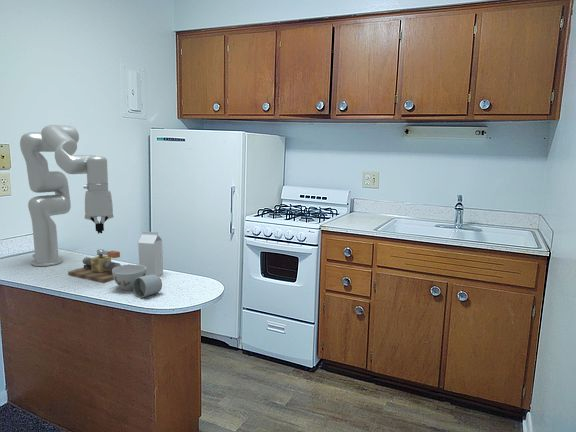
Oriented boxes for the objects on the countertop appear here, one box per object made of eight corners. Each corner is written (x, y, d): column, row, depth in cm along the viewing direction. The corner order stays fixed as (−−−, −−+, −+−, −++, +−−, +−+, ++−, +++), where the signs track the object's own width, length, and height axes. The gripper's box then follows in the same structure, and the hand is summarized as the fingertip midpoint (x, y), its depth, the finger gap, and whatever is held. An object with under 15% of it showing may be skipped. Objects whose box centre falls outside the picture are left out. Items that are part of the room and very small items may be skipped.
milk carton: (155, 278, 178) (153, 234, 175) (139, 277, 179) (137, 233, 176) (163, 273, 185) (161, 230, 182) (148, 272, 186) (146, 230, 183)
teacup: (129, 295, 157) (128, 274, 156) (105, 290, 163) (104, 270, 161) (158, 284, 170) (157, 265, 169) (135, 279, 176) (134, 261, 175)
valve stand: (68, 274, 181) (66, 255, 180) (100, 265, 195) (99, 247, 194) (103, 283, 171) (102, 262, 170) (134, 272, 185) (133, 254, 184)
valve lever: (95, 254, 181) (95, 249, 181) (101, 253, 184) (101, 248, 183) (114, 258, 176) (114, 253, 176) (120, 256, 178) (119, 251, 178)
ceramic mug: (164, 293, 160) (163, 273, 159) (146, 300, 153) (145, 279, 152) (145, 288, 165) (144, 269, 164) (127, 294, 159) (126, 274, 157)
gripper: (77, 189, 163) (79, 236, 166) (119, 188, 169) (120, 233, 172) (76, 187, 169) (79, 232, 172) (117, 186, 176) (118, 229, 179)
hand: (99, 232), depth 172 cm, fingers closed
